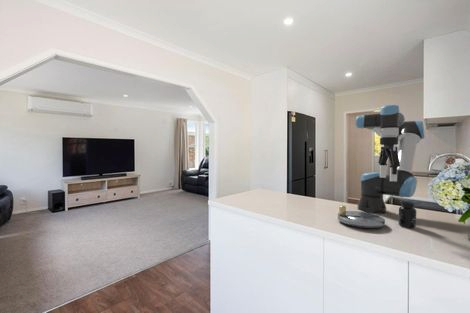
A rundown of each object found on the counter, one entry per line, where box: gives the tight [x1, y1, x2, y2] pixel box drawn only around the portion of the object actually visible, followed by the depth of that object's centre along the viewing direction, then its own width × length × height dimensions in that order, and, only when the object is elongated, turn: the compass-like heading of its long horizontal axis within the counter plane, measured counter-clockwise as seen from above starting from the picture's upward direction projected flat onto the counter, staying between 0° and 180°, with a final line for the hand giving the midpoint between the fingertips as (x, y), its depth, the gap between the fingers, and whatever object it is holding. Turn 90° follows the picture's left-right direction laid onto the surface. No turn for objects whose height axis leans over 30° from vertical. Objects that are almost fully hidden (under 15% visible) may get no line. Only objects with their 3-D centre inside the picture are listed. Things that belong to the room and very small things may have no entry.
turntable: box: [337, 205, 386, 229], centre depth 114 cm, size 21×21×7 cm
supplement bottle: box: [398, 200, 417, 229], centre depth 109 cm, size 7×7×12 cm
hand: (387, 179), depth 112 cm, fingers open, 13 cm apart
